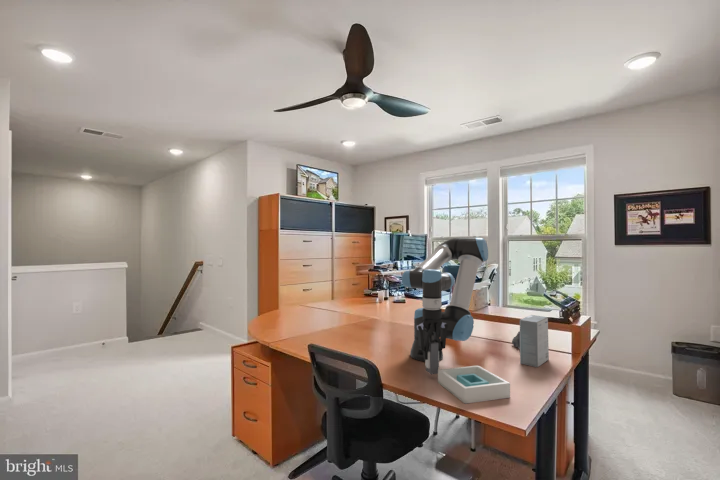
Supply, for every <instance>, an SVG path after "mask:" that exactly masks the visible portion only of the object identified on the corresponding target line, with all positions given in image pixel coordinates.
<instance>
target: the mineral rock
mask: <svg viewBox="0 0 720 480" xmlns="http://www.w3.org/2000/svg"><path fill="white" fill-rule="evenodd" d="M511 344H512V345H513V346H514V347H515V348H517V349H519V350H520V330H519V331H518V332H517V333H516V335H515V336H513V338H512V339H511Z"/></svg>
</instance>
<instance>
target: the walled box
mask: <svg viewBox="0 0 720 480" xmlns="http://www.w3.org/2000/svg"><path fill="white" fill-rule="evenodd" d="M437 383H438V384H439V385H440V386H442V387H443V388H444V389H445V390H446V391H448V392H449V393H450V394H452V395H453V396H454V397H455V398H456V399H459V400H460V401H461V402H462V404H473V403H474V404H475V403H479V402H480V403H481V402H488V401H494V400H502V399H510V398H511V382H509V381H507V380H505V379H504V378H502V377H500V376H498V375H497V374H494V373H493V372H491V371H490V370H487V369H485V368H484V367H482V366H480V365H470V366H461V367H449V368H441V369H440V368H439V369H438V374H437Z"/></svg>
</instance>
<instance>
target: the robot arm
mask: <svg viewBox="0 0 720 480" xmlns="http://www.w3.org/2000/svg"><path fill="white" fill-rule="evenodd" d="M488 260H489V248H488V244H487V241H486V239H485V238H483V237H453V238H450V239H448V240H445V241H443V242H442V243H440V244H439V245H438V246H436V247H435V248H434V251H433V252H432V253H431V254H430V255H429V256H428V257H426V258H425V259H424V260H423V261H422V262H421V263H420V264H419V265H418V266H417V267H415V269H413V270H404V271H403V274H402V275H401V282H402V285H403V286H404V287H405V288H409V289H418V290H419V289H420V290H421V289H422V301H421V302H422V303H421V304H422V307H420V308H419V307H418V308H417V309H415V311H414V317H413V323H414V324H413V326H414V329H413V330H414V331H413V334H414V335H413V336H414V337H413V338H414V339H413V342H412V346H411V348H410V352H409V353H410V357H411V358H412V359H413V360H416V361H420V362H425V366H424V367H425V368H426V367H427V368H428V369H430V352H429V351H428V350H429V343H430V336H431V334H434V341H435V342H437V343H438V361H439V362H440V361H442V360H443V358H444V353H443V350H445V349H446V344H447V343H446V342H447V340H453V341H457V342H459V341H460V342H465V341H467V340H469V338H470V337H471V335H472V334H473V330H474V326H475V325H474V322H475V321H474V317H473V316H472V313H471V311H470V309H469V308H470V305H471V300H472V295H473V290H474V286H475V283H476V278H477V273H478V268H480V267H482V265H483V262H487V261H488ZM450 261H458V262H459V267H458V271H457V275H456V279H455V278H454V276H453V274H451V273H450V272H446V271H445V272H444V271H441V270H440V268H441V267H442V266H443V265H444V264H446V263H449V262H450ZM452 287H453V291H452V295H451V297H450V298H451V299H450V303H449V304H448V305H446V306H445V309H444V311H442V305H443V304H442V292H443V291H444V292H445V291H448V290H450V289H451V288H452Z"/></svg>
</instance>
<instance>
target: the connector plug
mask: <svg viewBox="0 0 720 480" xmlns="http://www.w3.org/2000/svg"><path fill="white" fill-rule="evenodd" d="M428 351H429V352H430V369H428V368H427V367H426V366H425V371H426V372H427V373H428V374H430V375H438V369H440V361H438V343H437V342H435V341H434V334H431V336H430V343H429V350H428Z"/></svg>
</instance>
